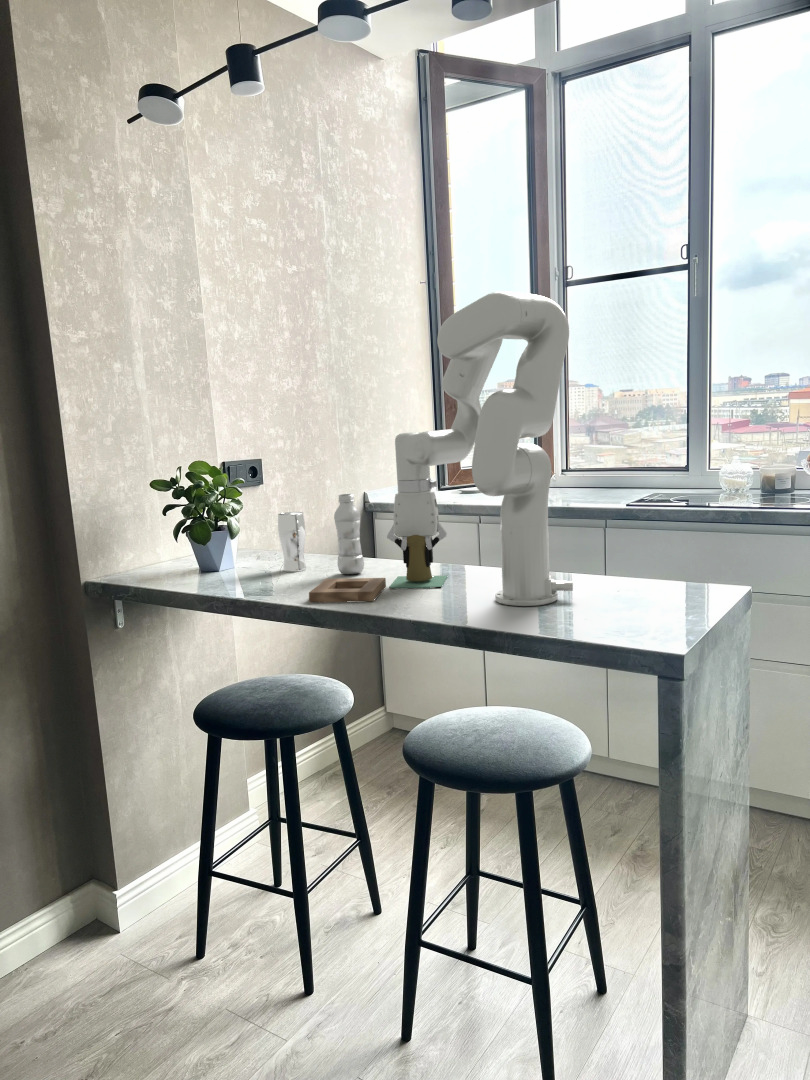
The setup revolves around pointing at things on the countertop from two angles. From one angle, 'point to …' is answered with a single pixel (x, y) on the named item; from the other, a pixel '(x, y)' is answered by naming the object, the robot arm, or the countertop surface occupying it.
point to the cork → (417, 559)
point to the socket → (347, 590)
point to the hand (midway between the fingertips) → (418, 565)
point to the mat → (418, 582)
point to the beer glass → (292, 540)
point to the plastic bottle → (348, 536)
